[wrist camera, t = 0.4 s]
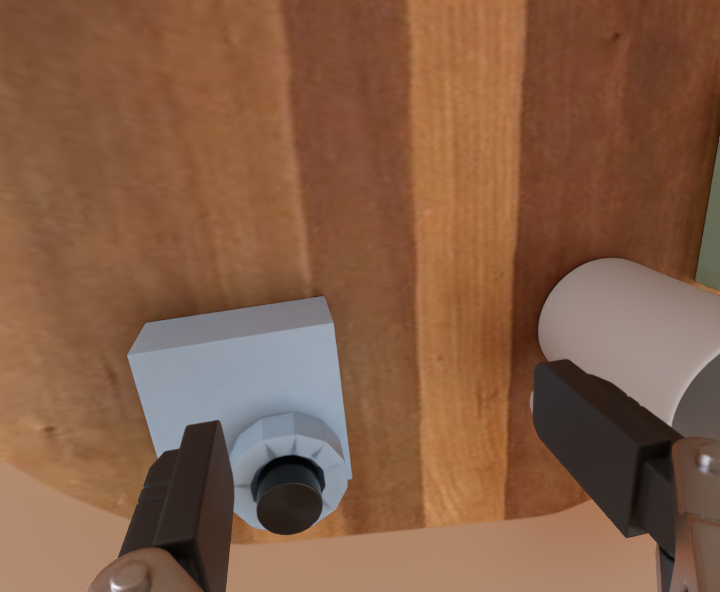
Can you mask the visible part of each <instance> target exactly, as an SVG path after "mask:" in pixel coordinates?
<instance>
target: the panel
mask: <svg viewBox="0 0 720 592" xmlns="http://www.w3.org/2000/svg"><path fill="white" fill-rule="evenodd" d="M695 282H698V283H700V284H703V285H706V286H708V287H711V288H714V289H716V290H719V291H720V137H719V143H718V149H717V155H716V161H715V166H714V172H713V178H712V184H711V190H710V196H709V202H708V208H707V213H706V219H705V225H704V231H703V237H702V243H701V249H700V255H699V260H698V266H697V272H696V278H695Z"/></svg>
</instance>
